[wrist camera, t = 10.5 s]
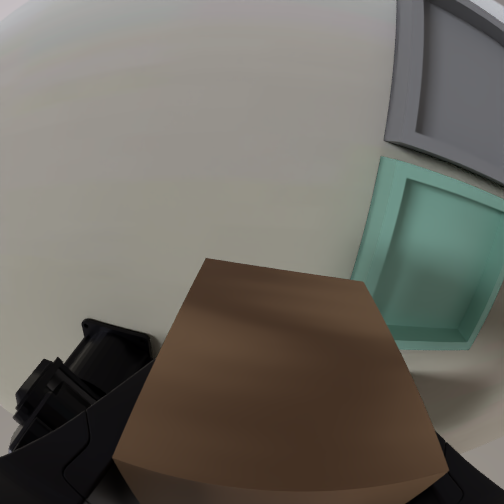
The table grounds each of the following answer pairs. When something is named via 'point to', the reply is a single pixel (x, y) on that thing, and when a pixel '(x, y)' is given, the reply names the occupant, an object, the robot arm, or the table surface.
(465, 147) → the tray
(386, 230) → the tray
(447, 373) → the table surface
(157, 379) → the walnut block
